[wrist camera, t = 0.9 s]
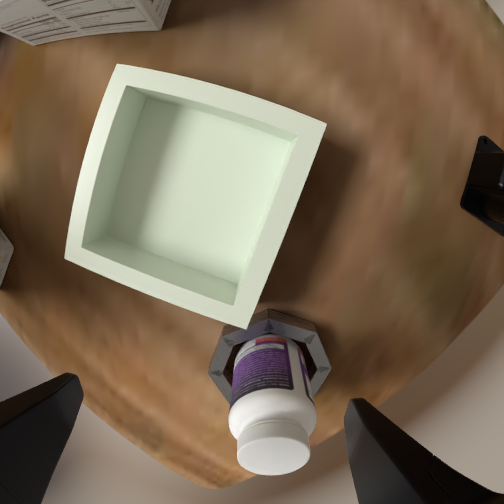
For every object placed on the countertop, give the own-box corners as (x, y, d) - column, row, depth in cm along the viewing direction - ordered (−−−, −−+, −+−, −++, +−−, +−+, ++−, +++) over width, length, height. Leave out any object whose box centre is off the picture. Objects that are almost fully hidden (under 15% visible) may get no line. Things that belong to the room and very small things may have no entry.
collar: (342, 331, 22) (347, 341, 21) (296, 408, 24) (298, 420, 23) (234, 297, 21) (233, 306, 20) (202, 383, 24) (199, 394, 22)
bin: (313, 132, 18) (327, 123, 15) (248, 301, 22) (246, 329, 18) (140, 80, 18) (117, 63, 14) (93, 243, 21) (64, 258, 17)
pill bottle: (222, 367, 23) (205, 463, 14) (259, 319, 22) (260, 414, 13) (277, 395, 24) (283, 488, 14) (317, 351, 23) (344, 445, 13)
